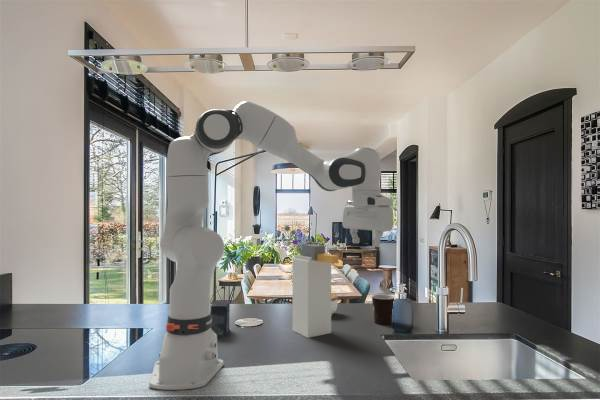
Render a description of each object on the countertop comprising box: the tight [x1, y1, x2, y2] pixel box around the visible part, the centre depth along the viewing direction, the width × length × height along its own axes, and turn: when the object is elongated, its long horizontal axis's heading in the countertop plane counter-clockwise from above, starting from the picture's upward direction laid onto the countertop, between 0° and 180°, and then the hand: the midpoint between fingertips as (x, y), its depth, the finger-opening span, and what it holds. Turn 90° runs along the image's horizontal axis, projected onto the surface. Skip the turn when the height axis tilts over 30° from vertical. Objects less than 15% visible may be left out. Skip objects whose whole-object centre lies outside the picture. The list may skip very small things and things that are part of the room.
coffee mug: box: [371, 294, 395, 326], centre depth 158 cm, size 12×9×10 cm
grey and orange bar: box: [301, 243, 339, 265], centre depth 141 cm, size 17×4×5 cm, turn 33°
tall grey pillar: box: [291, 254, 332, 339], centre depth 145 cm, size 10×10×27 cm
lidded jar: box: [331, 293, 339, 317], centre depth 169 cm, size 11×11×9 cm
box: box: [210, 300, 231, 337], centre depth 143 cm, size 8×6×11 cm
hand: (365, 244), depth 126 cm, fingers open, 8 cm apart
